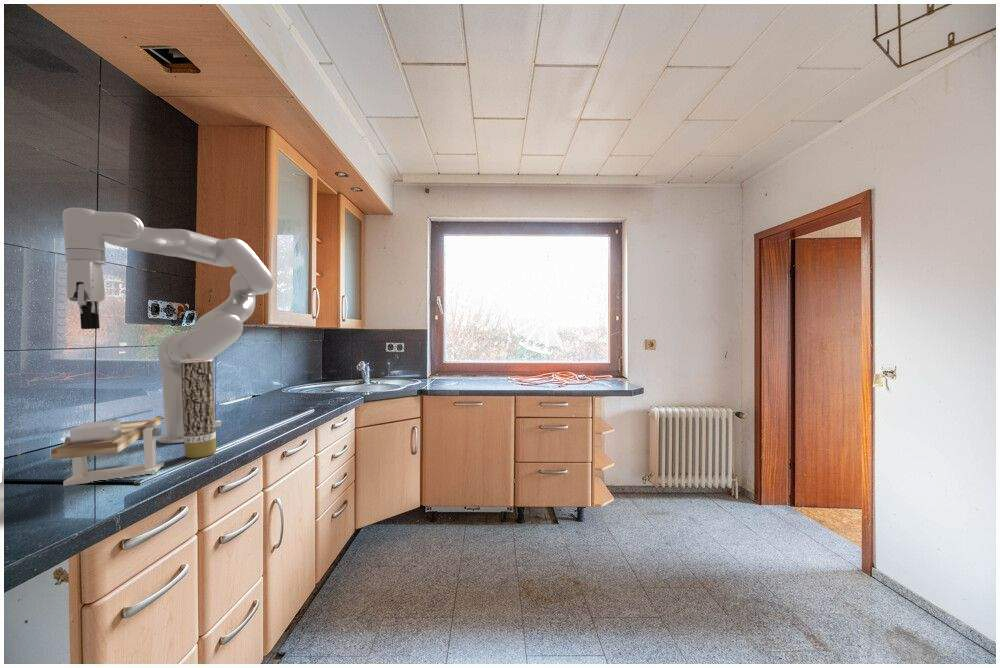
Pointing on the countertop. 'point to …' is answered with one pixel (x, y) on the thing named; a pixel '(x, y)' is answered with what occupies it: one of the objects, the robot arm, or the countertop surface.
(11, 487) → the countertop surface
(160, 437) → the robot arm
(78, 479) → the pivot stand
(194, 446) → the bark textured cylinder
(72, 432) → the steel block
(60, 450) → the balance beam
